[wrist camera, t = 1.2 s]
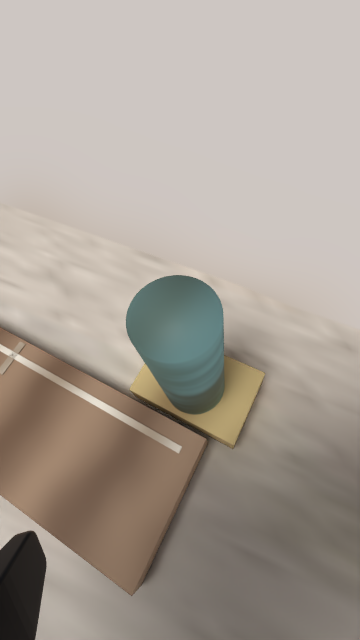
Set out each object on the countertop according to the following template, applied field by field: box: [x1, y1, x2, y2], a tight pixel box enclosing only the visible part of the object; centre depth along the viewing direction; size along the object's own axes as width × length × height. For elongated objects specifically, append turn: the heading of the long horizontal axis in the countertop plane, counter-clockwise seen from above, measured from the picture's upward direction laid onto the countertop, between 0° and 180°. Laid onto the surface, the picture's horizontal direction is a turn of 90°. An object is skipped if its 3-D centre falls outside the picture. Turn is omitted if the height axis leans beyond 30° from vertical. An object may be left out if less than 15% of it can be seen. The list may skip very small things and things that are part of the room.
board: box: [0, 327, 208, 596], centre depth 21 cm, size 20×8×2 cm, turn 62°
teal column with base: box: [126, 275, 265, 449], centre depth 17 cm, size 7×5×11 cm, turn 62°
